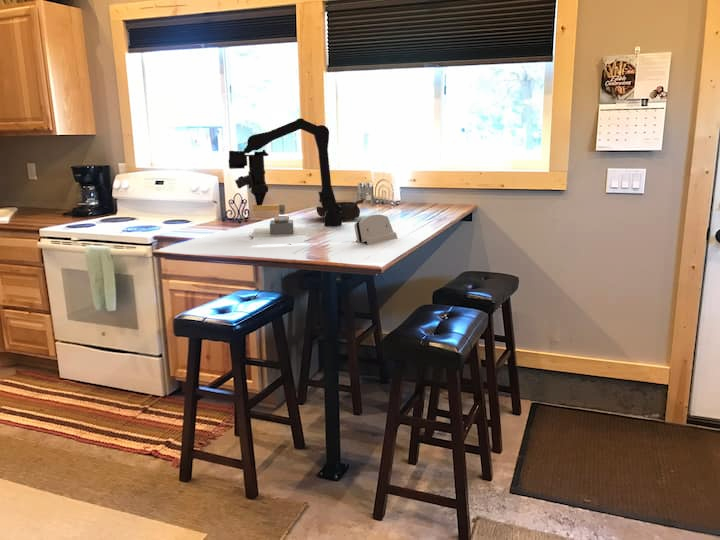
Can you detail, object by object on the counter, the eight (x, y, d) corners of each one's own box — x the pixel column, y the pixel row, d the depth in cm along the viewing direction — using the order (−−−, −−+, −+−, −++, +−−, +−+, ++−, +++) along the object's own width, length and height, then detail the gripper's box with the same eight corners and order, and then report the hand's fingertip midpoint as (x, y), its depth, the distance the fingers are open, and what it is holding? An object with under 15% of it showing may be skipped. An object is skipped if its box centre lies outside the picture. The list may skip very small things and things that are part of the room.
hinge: (368, 244, 202) (360, 216, 202) (358, 248, 205) (350, 220, 205) (398, 237, 214) (390, 210, 214) (388, 240, 218) (380, 214, 217)
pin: (289, 230, 226) (288, 213, 224) (289, 233, 221) (288, 215, 219) (275, 231, 225) (274, 214, 224) (274, 233, 220) (273, 216, 219)
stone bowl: (367, 221, 249) (365, 199, 247) (307, 227, 250) (305, 205, 248) (367, 212, 273) (365, 192, 271) (313, 217, 274) (310, 197, 272)
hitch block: (316, 229, 235) (315, 208, 233) (317, 236, 218) (316, 215, 216) (254, 231, 232) (253, 210, 230) (251, 239, 216) (249, 217, 214)
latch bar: (285, 209, 231) (285, 204, 231) (285, 210, 229) (284, 205, 228) (253, 210, 230) (252, 205, 230) (252, 211, 228) (252, 206, 227)
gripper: (234, 167, 235) (236, 206, 239) (236, 170, 218) (239, 213, 221) (262, 166, 238) (264, 205, 242) (267, 169, 220) (269, 211, 224)
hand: (259, 208), depth 232 cm, fingers closed
